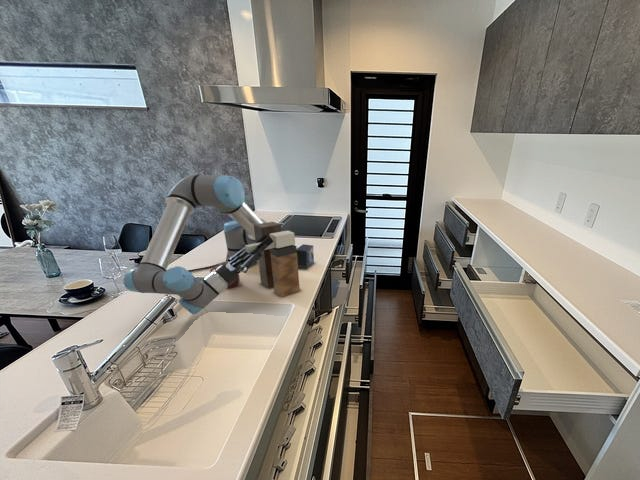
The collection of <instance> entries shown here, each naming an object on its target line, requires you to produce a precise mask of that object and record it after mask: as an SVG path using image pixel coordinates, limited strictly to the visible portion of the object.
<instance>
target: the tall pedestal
mask: <svg viewBox="0 0 640 480" xmlns="http://www.w3.org/2000/svg"><path fill="white" fill-rule="evenodd" d="M266 222H267V223H260V224H254V232H255V240H256V241H257V240H259V239H260V238H261V237H262V236H263V235H266V236H267V237H268V236H270V234H271V233H276V232H282V225H281V224H280V223H278V222H275V221H266ZM262 254H263V256H262V257H261V258H260V259H259V260H257V262H258V270H259V277H260V278H259V279H260V284H261V285H262V286H264V287H266V288H267V289H271V288H274V282H273V273H272V264H271V255H270V249H267V250H263V251H262Z"/></svg>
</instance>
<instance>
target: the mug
mask: <svg viewBox="0 0 640 480" xmlns="http://www.w3.org/2000/svg"><path fill="white" fill-rule="evenodd" d="M225 261H226V260H225ZM225 261H222V262H219V263H217V264H218V265H217V266H215V267H212V268H210V270H209V274H210V273H212V272H214V271H215V269H217V268H218V267H219V266H220V265H225V266H226V265H227V264H228V263H229V262H228V261H226V262H225ZM236 277H237V279H236V280H235V281H234V282H233V283H232V284H231V285H229V284H228V287H227V288H228V289H231V288H235V287H237V286H239V285H240V284H241V281H240V280H241V278H240V273H239V274H237V275H236ZM227 288H226V289H227Z"/></svg>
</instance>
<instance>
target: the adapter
mask: <svg viewBox="0 0 640 480" xmlns="http://www.w3.org/2000/svg"><path fill="white" fill-rule="evenodd" d="M297 248H298V247H297V245H296V244H295V245H290V246H285V247H281V248H271V249H270V254H272V255H274V256H276V257H281V256H285V255H289V254H293V253H297Z"/></svg>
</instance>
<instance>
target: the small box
mask: <svg viewBox="0 0 640 480" xmlns="http://www.w3.org/2000/svg"><path fill="white" fill-rule="evenodd" d="M296 248H297V261H298V270H308V269H309V268H311V266H313V265H314V264H315V253H314V252H315V251H314V245H312V244H304V243H303V244H302V245H299V247H296Z"/></svg>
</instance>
